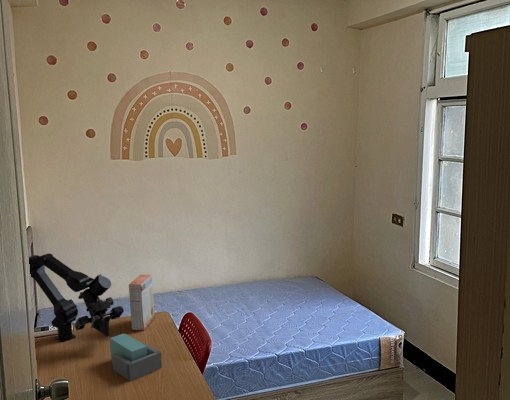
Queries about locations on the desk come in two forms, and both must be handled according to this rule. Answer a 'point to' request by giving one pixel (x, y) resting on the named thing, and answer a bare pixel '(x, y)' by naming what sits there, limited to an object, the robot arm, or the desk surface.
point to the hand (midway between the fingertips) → (108, 336)
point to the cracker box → (141, 302)
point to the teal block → (127, 347)
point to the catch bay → (137, 364)
